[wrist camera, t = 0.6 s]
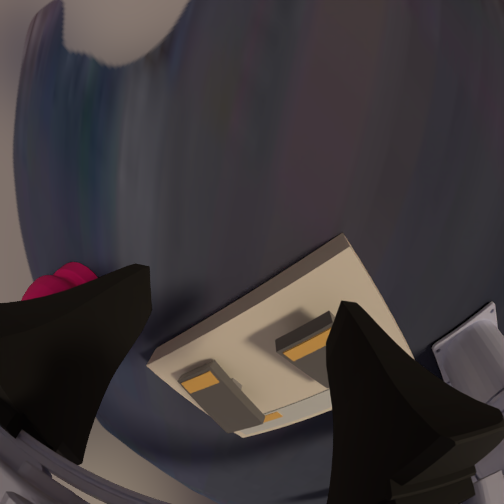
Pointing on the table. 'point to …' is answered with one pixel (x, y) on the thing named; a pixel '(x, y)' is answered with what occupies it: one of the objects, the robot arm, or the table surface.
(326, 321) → the block
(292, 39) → the table surface
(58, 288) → the pepper mill
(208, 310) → the table surface
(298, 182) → the table surface
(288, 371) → the switch console
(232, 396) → the block
